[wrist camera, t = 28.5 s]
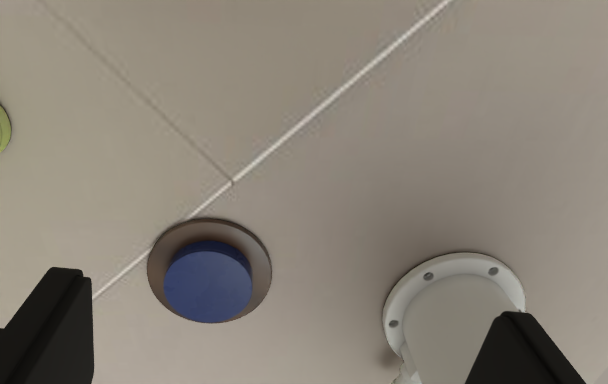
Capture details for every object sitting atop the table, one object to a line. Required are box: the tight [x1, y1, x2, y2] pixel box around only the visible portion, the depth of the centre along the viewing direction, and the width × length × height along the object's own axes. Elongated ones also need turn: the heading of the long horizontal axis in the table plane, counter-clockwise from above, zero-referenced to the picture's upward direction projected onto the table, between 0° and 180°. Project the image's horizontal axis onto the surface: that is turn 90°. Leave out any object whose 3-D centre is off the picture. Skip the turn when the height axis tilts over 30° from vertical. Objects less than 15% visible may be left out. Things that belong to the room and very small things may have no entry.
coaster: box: [147, 219, 272, 323], centre depth 36 cm, size 10×10×1 cm
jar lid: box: [163, 241, 253, 323], centre depth 35 cm, size 7×7×2 cm
